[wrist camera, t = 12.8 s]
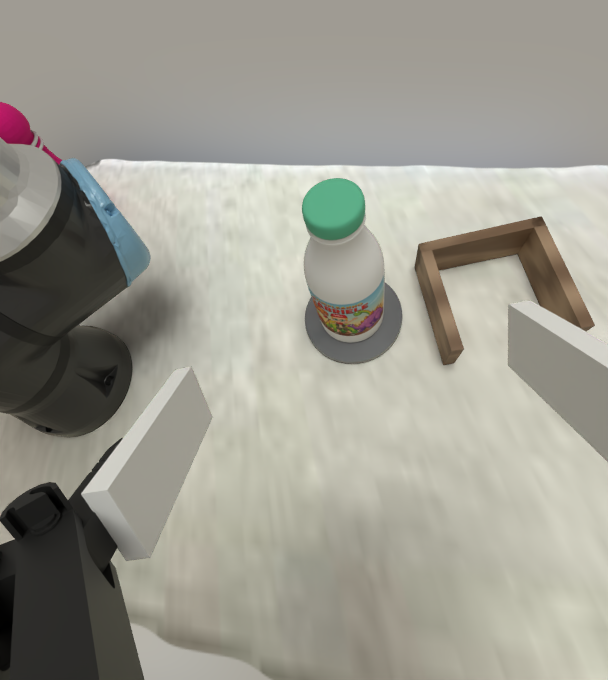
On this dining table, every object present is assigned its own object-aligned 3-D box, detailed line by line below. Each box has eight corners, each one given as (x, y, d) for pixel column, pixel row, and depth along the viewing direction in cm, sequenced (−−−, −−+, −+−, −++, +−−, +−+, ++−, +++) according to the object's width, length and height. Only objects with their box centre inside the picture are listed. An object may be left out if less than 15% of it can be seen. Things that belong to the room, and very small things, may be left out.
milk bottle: (320, 291, 45) (280, 168, 27) (380, 284, 44) (382, 151, 26) (322, 346, 42) (279, 252, 24) (386, 341, 41) (392, 238, 23)
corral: (414, 267, 45) (418, 243, 40) (524, 243, 43) (541, 216, 38) (443, 365, 40) (451, 351, 35) (568, 343, 38) (594, 325, 33)
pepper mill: (116, 192, 62) (5, 73, 43) (102, 225, 59) (-21, 115, 41) (83, 193, 63) (-38, 79, 45) (68, 226, 61) (-65, 120, 43)
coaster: (288, 315, 46) (286, 312, 45) (358, 261, 47) (357, 256, 46) (346, 383, 41) (346, 381, 40) (422, 321, 42) (423, 317, 41)
